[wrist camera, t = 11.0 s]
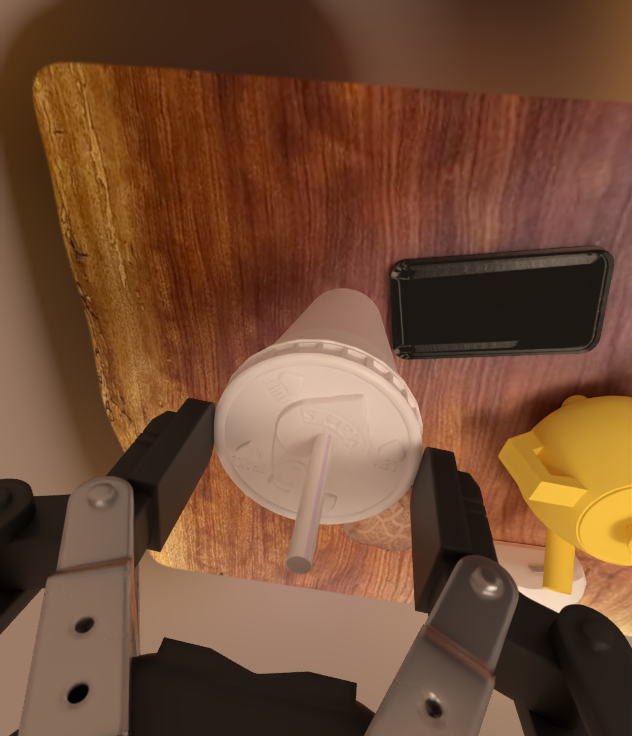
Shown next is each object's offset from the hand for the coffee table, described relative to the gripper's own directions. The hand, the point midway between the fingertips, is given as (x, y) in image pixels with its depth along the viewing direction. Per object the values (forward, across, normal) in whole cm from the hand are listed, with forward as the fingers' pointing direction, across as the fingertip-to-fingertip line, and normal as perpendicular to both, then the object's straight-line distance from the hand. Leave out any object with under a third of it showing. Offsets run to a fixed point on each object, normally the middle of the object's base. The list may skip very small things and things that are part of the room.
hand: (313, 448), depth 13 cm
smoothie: (+10, 0, 0) cm, 10 cm away
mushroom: (+24, -7, +24) cm, 34 cm away
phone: (+24, -10, +2) cm, 26 cm away
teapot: (+24, -22, +12) cm, 35 cm away
